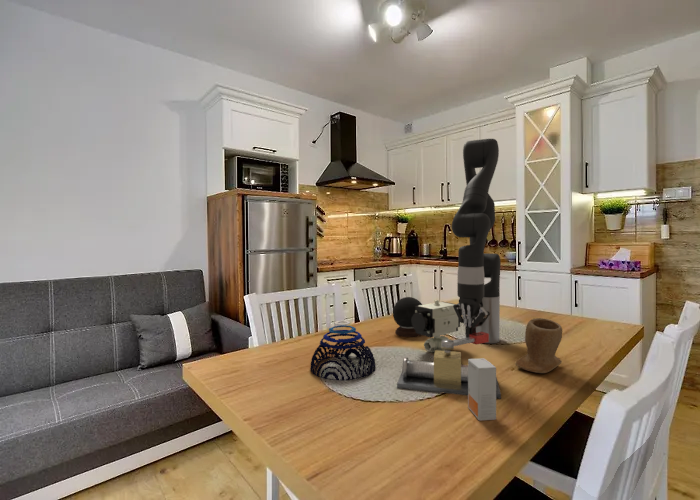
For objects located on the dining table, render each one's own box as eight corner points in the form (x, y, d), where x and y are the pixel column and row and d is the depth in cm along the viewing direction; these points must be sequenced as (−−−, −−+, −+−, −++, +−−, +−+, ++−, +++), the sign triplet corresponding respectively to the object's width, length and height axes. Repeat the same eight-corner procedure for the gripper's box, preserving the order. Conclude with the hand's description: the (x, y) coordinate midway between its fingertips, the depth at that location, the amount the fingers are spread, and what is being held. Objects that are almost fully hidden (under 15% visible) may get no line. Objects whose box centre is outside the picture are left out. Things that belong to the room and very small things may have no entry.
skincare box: (467, 408, 86) (467, 358, 86) (484, 407, 87) (484, 357, 86) (478, 421, 80) (478, 368, 80) (497, 420, 81) (497, 367, 80)
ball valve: (429, 359, 120) (428, 305, 119) (411, 352, 127) (410, 301, 126) (465, 349, 130) (465, 299, 129) (446, 343, 137) (446, 296, 136)
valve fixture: (403, 371, 110) (403, 339, 109) (496, 380, 102) (496, 346, 102) (397, 387, 98) (396, 352, 98) (500, 399, 91) (501, 360, 90)
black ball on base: (429, 331, 153) (429, 296, 152) (417, 339, 142) (417, 301, 141) (400, 327, 160) (400, 293, 159) (387, 334, 149) (387, 298, 148)
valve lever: (480, 339, 108) (480, 331, 108) (489, 342, 105) (489, 333, 105) (439, 348, 100) (439, 339, 100) (447, 351, 98) (447, 342, 98)
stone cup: (551, 380, 101) (551, 327, 101) (509, 368, 111) (510, 319, 110) (573, 367, 111) (574, 318, 110) (533, 357, 120) (533, 312, 119)
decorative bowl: (382, 360, 120) (381, 317, 119) (365, 384, 101) (364, 333, 101) (326, 354, 127) (325, 313, 126) (300, 376, 108) (299, 328, 107)
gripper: (497, 283, 103) (497, 343, 104) (464, 277, 115) (464, 331, 116) (477, 285, 100) (477, 347, 101) (445, 279, 112) (445, 335, 113)
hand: (470, 338), depth 108 cm, fingers closed
